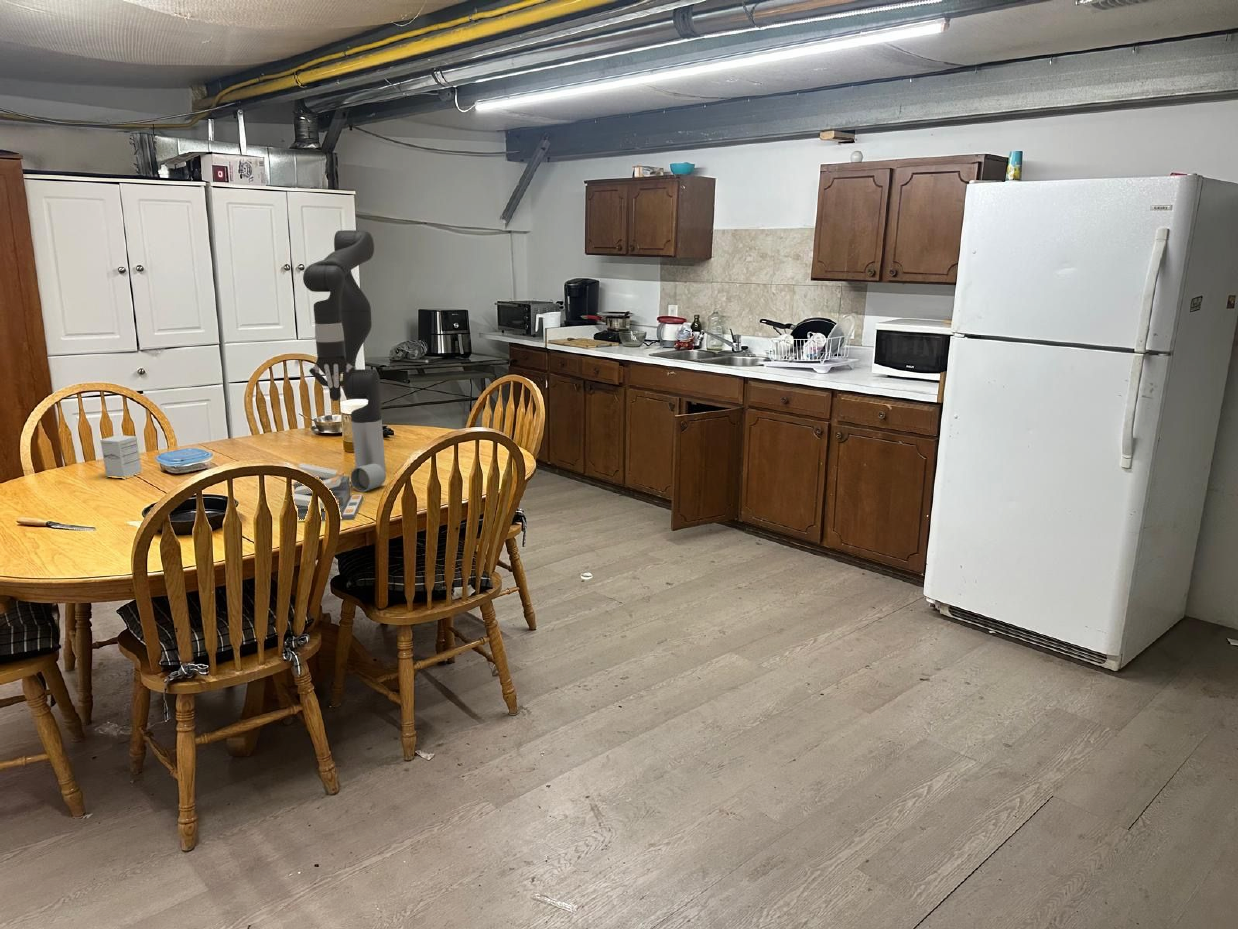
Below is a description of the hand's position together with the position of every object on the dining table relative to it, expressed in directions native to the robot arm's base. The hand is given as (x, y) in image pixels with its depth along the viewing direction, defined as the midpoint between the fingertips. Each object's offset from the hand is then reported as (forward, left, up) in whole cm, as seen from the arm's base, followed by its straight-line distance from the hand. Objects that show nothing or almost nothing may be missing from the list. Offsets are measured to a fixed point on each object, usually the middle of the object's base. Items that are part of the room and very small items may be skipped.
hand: (335, 400), depth 242 cm
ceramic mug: (-8, +5, -29) cm, 31 cm away
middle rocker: (+11, -5, -22) cm, 25 cm away
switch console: (+11, -3, -29) cm, 31 cm away
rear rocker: (+5, -5, -20) cm, 21 cm away
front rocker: (+17, -5, -24) cm, 30 cm away
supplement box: (-33, -73, -29) cm, 85 cm away
